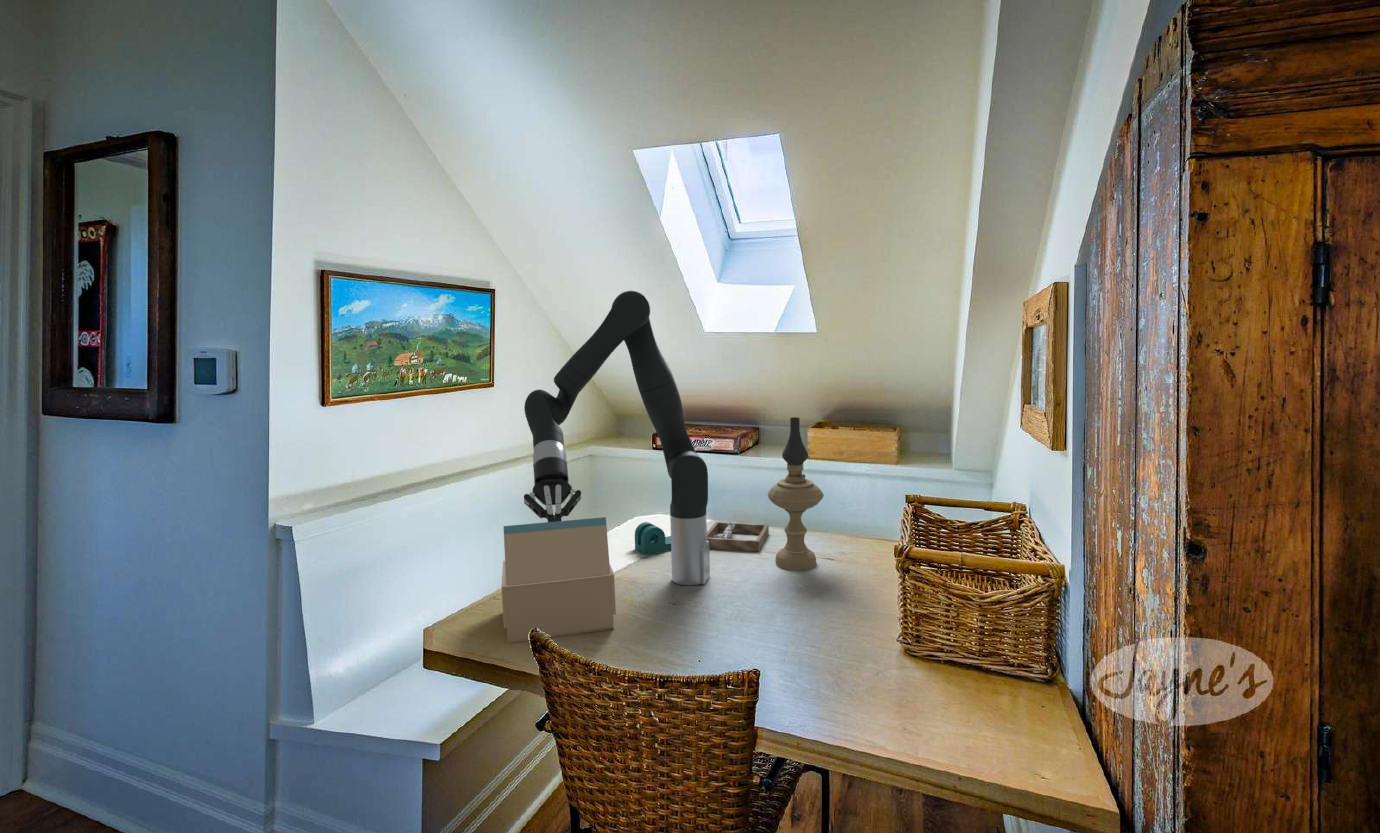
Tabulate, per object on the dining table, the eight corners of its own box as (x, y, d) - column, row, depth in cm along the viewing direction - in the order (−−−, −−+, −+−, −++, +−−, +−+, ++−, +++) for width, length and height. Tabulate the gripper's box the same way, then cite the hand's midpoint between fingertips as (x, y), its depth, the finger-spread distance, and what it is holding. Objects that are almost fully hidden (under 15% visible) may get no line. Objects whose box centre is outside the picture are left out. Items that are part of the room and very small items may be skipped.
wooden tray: (768, 533, 210) (768, 524, 210) (759, 551, 193) (758, 541, 193) (716, 530, 215) (716, 521, 215) (702, 547, 198) (701, 538, 197)
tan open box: (506, 609, 156) (503, 559, 154) (605, 597, 161) (603, 549, 160) (504, 643, 138) (501, 587, 136) (616, 629, 143) (614, 575, 142)
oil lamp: (789, 576, 172) (788, 422, 168) (757, 560, 186) (755, 417, 181) (835, 566, 179) (835, 418, 175) (801, 551, 192) (800, 413, 188)
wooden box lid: (503, 526, 139) (503, 526, 138) (605, 517, 144) (605, 517, 143) (506, 585, 136) (506, 585, 136) (609, 574, 141) (610, 574, 141)
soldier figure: (708, 547, 202) (713, 525, 212) (721, 557, 202) (725, 534, 213) (725, 532, 198) (729, 510, 209) (738, 542, 199) (741, 519, 210)
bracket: (644, 555, 192) (643, 529, 192) (635, 549, 198) (634, 523, 197) (699, 545, 201) (698, 520, 200) (688, 539, 207) (687, 515, 206)
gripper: (519, 457, 147) (522, 526, 137) (580, 453, 150) (587, 520, 140) (520, 476, 153) (524, 544, 143) (579, 472, 156) (586, 538, 146)
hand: (555, 532), depth 142 cm, fingers closed
